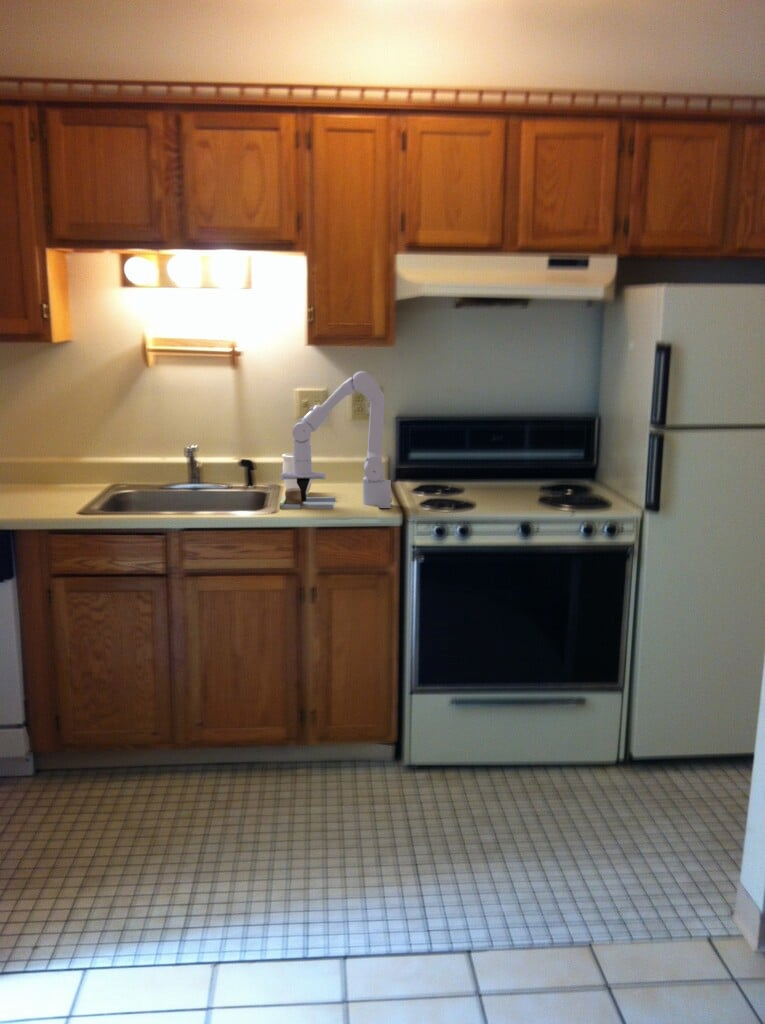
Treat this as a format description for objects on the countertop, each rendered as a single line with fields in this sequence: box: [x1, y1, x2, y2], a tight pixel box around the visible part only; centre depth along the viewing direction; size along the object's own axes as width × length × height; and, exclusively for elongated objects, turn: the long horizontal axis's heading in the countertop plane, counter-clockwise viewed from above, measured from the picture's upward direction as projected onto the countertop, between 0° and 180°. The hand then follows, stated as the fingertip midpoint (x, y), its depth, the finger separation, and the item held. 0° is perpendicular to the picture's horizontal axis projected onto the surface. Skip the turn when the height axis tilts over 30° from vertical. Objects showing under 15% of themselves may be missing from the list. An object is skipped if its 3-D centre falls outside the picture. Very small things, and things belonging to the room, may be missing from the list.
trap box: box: [279, 494, 336, 510], centre depth 277 cm, size 17×12×3 cm
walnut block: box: [284, 488, 303, 506], centre depth 277 cm, size 5×5×5 cm
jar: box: [281, 451, 314, 496], centre depth 295 cm, size 11×10×15 cm
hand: (304, 501), depth 277 cm, fingers closed, pressing on walnut block
